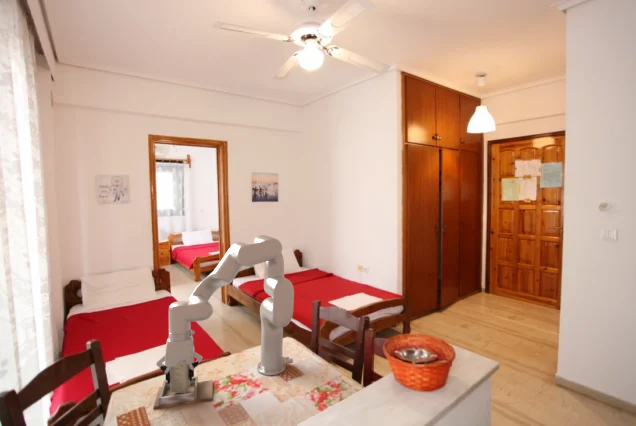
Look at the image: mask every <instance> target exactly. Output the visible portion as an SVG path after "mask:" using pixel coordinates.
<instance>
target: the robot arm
mask: <svg viewBox="0 0 636 426" xmlns="http://www.w3.org/2000/svg"><path fill="white" fill-rule="evenodd" d="M282 244H283V243H281V241H280V240H278V239H277V238H275V237H272V236H269V235H263V234H261V235H257V236H255V238H254V239H253V242H252V243H251V244H248V243H245V242H241V241H240V242H238V241H237V242H235V243H233V244H232V245H231V246H230V247H229V248H228V250H227V251H226V253H224V256H223V257H222V258H221V259H220V261H219V262H218V264H217V265H216V267H215V268H214V269H213V271H211V272H210V273H209V275H207V276H206V277H205V278H204V279H202V281H200V283H199V284H198V285H197V286H196V287H195V289H194V291H193V292H192V293H191V295H190V296H189V298H188V299H187V300H182V301H181V300H180V301H179V300H178V301H174V302H172V303H171V304H170V305H169V306H168V338H167V339H166V345H165V351H164V352H165V353H164V354H165V355H164V356H162V357H161V358H160V359H159V360H157V362H156V366H157V367H158V368H159V369H160V370H161V371H162V372H163V373H164V374H165V381H167V384H169V383H170V368H171V367H174V366H177V363H178V362H183V361H186V365H188V366H189V367H190V381H192V377H195V369H196V368H197V367H198V365H199V364H200V363H201V362H202V360H203V356H202V355H201V354H199V353H197V352H196V351H195V341H194V337H193V335H195V330H192V329H191V322H203V321H208V319H210V318H211V317H212V316H213V312H214V308H213V305H212V304H211V303H210V302H209V300H210V299H211V297H212V296H213V294H214V293H215V292H216V291H218V290H219V289H221V288H223V287H225V286H228V285H229V284H231V283H232V282H233V281H234V279H235V278H236V276H237V275H238V273H239V272H240V270H241V269H242V267H251V266H255V265H259V264H262V263H264V275H263V277H264V279H263V289H264V292H265V293H266V294H267V295H268V296H269V297H267V298H265V299H263V300H262V302H261V304H260V307H259V316H260V322H261V323H260V325H261V328H260V331H261V332H260V337H261V338H260V339H261V340H260V361H259V362H258V364H257V366H256V369H257V370H256V371H257V372H259V373H260V374H262V375H264V376H277V375H280V374H281V373H283V372H284V371H285V370H286V368H287V367H286V365H287V364H293V363H294V359H293V358H292V357H291V358H290V357H289V356H284V355H283V351H284V348H283V346H284V345H283V343H284V342H283V341H284V335H283V334H284V327H287V326H288V325H289V324H290V322H292V319H293V315H294V302H295V299H294V298H295V290H294V284H293V283H292V282H291V281H290V279H288V278H286V277H285V259H284V255H283V254H282V251H283V245H282ZM195 359H196V360H195ZM163 363H164V364H163Z"/></svg>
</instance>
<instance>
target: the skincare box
mask: <svg viewBox="0 0 636 426" xmlns="http://www.w3.org/2000/svg"><path fill="white" fill-rule="evenodd" d="M189 388H190V367H189V366H188V365H186V361H183V362H178V363H177V366H174V367H171V368H170V392H175V393H186V391H187V390H188V389H189Z"/></svg>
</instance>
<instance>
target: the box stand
mask: <svg viewBox="0 0 636 426" xmlns="http://www.w3.org/2000/svg"><path fill="white" fill-rule="evenodd" d="M213 383H214V381H213V379H212V380H205V381H199V376H194V377H192V381H190V388H189V389H188V390H187V391H186V393H175V392H170V383H169V384H167V381H166V380H163V383H162V386H161V387H160V386H159V387H158V390H157V393H156V397H155V400H154V403H153V410H157V409H158V410H159V409H163V408H171V407H175V406H176V407H177V406H184V405H190V404H195V403H204V402H209V401H213Z"/></svg>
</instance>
